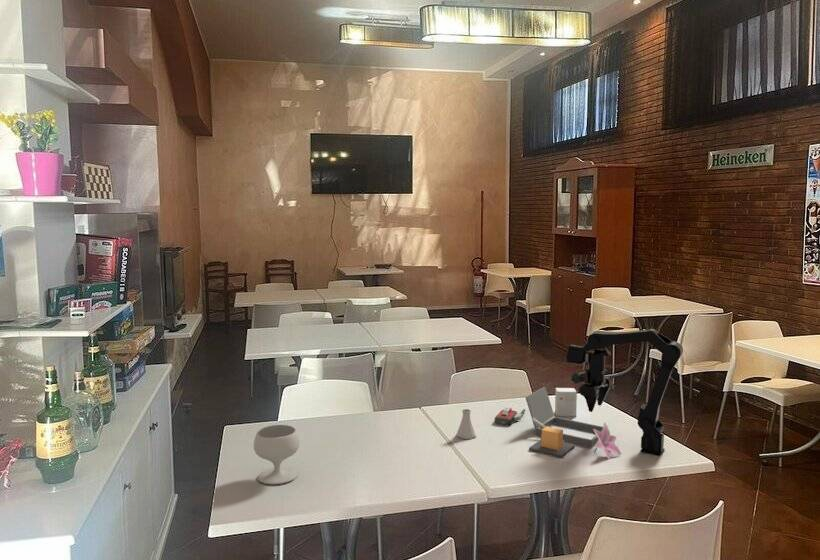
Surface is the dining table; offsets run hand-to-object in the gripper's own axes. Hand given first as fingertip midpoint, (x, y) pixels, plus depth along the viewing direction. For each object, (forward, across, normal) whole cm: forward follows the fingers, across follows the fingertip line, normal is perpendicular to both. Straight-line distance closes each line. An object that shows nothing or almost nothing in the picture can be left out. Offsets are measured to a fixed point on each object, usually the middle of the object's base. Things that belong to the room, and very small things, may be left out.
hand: (595, 408), depth 219 cm
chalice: (+12, +90, -69) cm, 114 cm away
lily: (+12, +11, +8) cm, 18 cm away
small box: (+12, -22, -20) cm, 32 cm away
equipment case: (+12, 0, -11) cm, 16 cm away
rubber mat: (+12, +17, -9) cm, 23 cm away
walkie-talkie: (+13, -4, -36) cm, 38 cm away
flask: (+12, +24, -40) cm, 48 cm away
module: (+11, +17, -9) cm, 22 cm away
